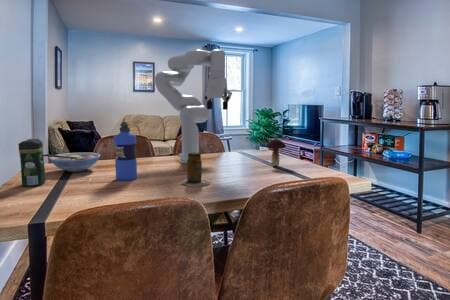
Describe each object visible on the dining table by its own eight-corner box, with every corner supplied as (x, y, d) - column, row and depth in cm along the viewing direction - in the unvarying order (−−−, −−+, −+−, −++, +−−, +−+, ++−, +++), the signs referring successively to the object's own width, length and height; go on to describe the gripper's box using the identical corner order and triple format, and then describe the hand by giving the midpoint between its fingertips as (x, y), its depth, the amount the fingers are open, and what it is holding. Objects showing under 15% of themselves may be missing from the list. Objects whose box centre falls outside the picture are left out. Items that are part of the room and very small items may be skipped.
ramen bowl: (112, 168, 165) (112, 152, 164) (75, 178, 144) (73, 160, 143) (77, 164, 175) (76, 149, 174) (37, 172, 155) (36, 155, 154)
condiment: (198, 178, 143) (198, 151, 141) (206, 183, 135) (206, 154, 133) (183, 180, 139) (182, 152, 137) (190, 184, 132) (190, 155, 130)
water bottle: (125, 182, 138) (123, 123, 135) (111, 179, 143) (108, 122, 140) (141, 177, 146) (140, 122, 143) (127, 175, 151) (125, 121, 147)
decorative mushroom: (276, 169, 167) (277, 140, 165) (260, 166, 175) (261, 138, 173) (289, 166, 174) (290, 139, 172) (273, 163, 182) (274, 137, 180)
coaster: (175, 183, 136) (175, 182, 136) (194, 178, 146) (194, 176, 146) (197, 188, 129) (197, 186, 129) (215, 182, 139) (215, 180, 139)
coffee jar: (27, 181, 137) (23, 138, 134) (48, 180, 139) (44, 137, 136) (18, 187, 128) (14, 140, 125) (41, 186, 130) (37, 140, 127)
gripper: (199, 75, 167) (199, 109, 169) (227, 74, 157) (227, 109, 159) (208, 76, 173) (208, 108, 175) (235, 75, 163) (235, 109, 165)
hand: (217, 109), depth 167 cm, fingers open, 9 cm apart
